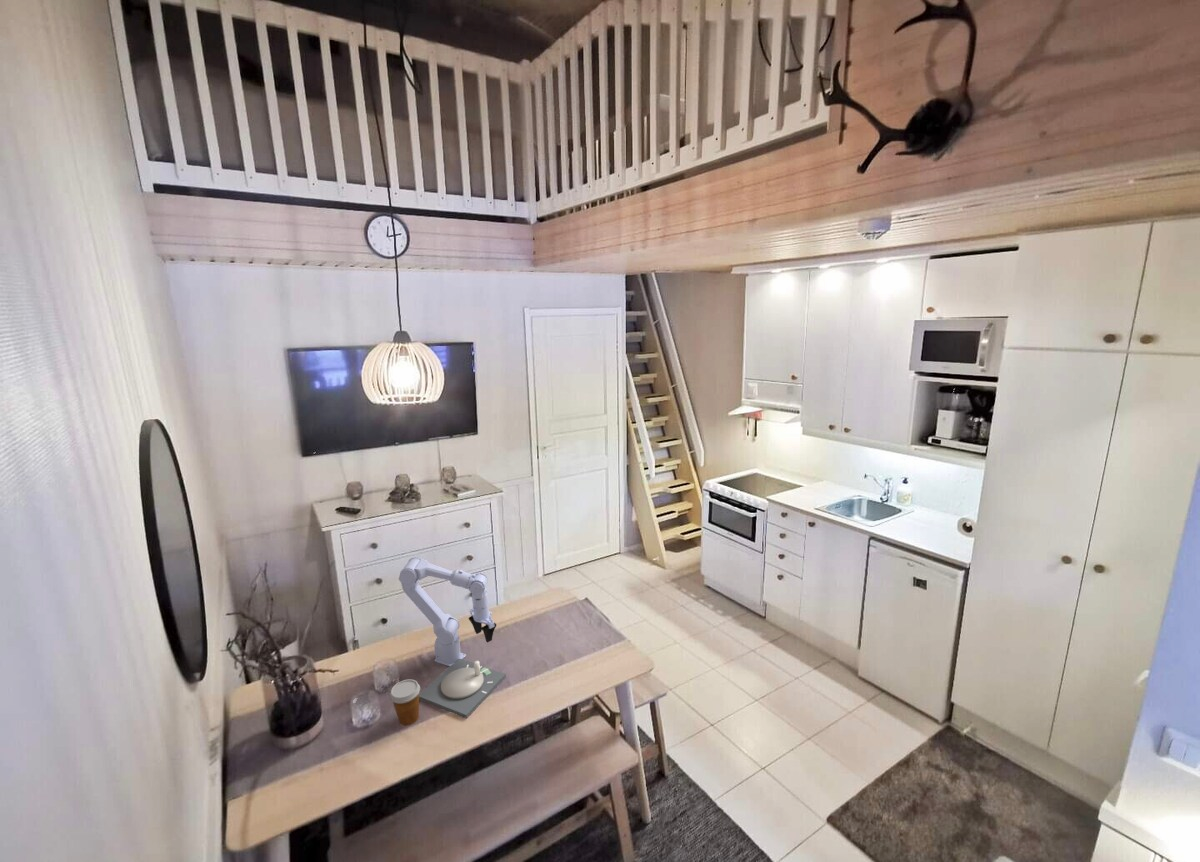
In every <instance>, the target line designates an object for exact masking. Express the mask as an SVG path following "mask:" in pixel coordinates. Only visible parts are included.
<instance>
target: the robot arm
mask: <svg viewBox="0 0 1200 862" xmlns="http://www.w3.org/2000/svg"><path fill="white" fill-rule="evenodd" d="M427 577H433V578H437V579H441V580H445V581H449V582H450V584H451V585H452V586H456V587H458V588H461V589H467V590H468V591H469V593H470V594H471V599H472V600H471V601H472V608H470V609H469V614H470V615H471V616H469V617H468V621H469V622H470V623H471V625H472V627H473V629H474V632H475V634H476V635H478V634H481V633H482V632H483V634H484V638H485V642H486V643H489V642H491V641H492V640H493V636H494V632H495V629H496V628H497V623H496V622H494V621H493V619H492V613H493V612H492V611H491V610H490V609H489V597H488V592H487V584H488V578H487V576H486V574H483V573H482V572H477V573H470V572H467V571H464V570H463V569H455V570H451V569H450V570H449V569H447V568H444V567H441V566H439V565H435V564H433V563H431V562H429V561H428V560H426V559H425V558H420V557H417V556H413V557H411V558H410V559H409V560H408V562H407V563H406V565H405V566H404V568H402V569H401V571H400V572H399V575H398V580H399V582H400V584H401V588H402V591H403V592H404V594H405V595H406V596H407V597H408V598H409V599H410V601H412V602H413V604H414V605H415V606H416V607H417V609H419V610H420V611H421V613H422V614H423V615H424V616H425V618H427V619H428V621H429V622H430V623H431V624H432V626H433V632H434V633H433V634H434V635H435V636H436V639H435V640H434V643H433V644H434V645H433V646H434V653H435V654H434V655H435V659H434V662H436V663H439V664H442V665H445V666H447V667H450V666H452V665H453V664H454V663H455V662H456V661H457V660H458V659H459V658H460V659H463V660H464V658H466V656H467V654H466V653H463V652H462V651H461V644H460V643H461V642H460V635H459V632H458V630H459V628H460V622H459V619H457V618H455V617H453V616H452V615H451V613H444V612H443V611H442V609H441V608H440V607H439V606H438V605H437V604H436V602H434V600H433V599H432V598H431V597H430V596H429V594H428V593H427V592H426V591H425V589H423V588H422V587H421V585H420V584H419V583H420V581H421V580H422V579H424V578H427ZM482 624H483V625H484V626H483V625H482Z"/></svg>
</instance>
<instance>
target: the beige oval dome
mask: <svg viewBox="0 0 1200 862" xmlns="http://www.w3.org/2000/svg"><path fill="white" fill-rule="evenodd" d="M473 663H474V668H461V669H457V670H455V671H453V672H451V673H449V674H448V675H447V676H446V677H445V678H444V679H443V680H442V682H441V691H442V693H443V695H445V696H446V697H448V698H451V699H461V698H466V697H468V696H471V695H473V694H474V693H476V692H477V691H478V690H479V689H480V688H481V687H482V685H483V682H484V678H483V674H482V673H483V672H485V671H487V670H489V669H486V670H484V671H482V672H481V671H480V660H475V661H474V662H473Z"/></svg>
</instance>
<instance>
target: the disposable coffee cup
mask: <svg viewBox="0 0 1200 862" xmlns="http://www.w3.org/2000/svg"><path fill="white" fill-rule="evenodd" d="M420 691H421V686H420V684H419V683H418V681H417V680H415V679H412V678H411V679H409V678H408V679H403V680H401V681H399V682H397V683H396V684H394V685H393V687H392V688H391V690H390V694H389V698H390V700H391V701H392V703H393V706H394V710H395V712H396V715H397V719H398V722H399V724H400V725H401V726H404V727H405V726H406V727H407V726H411V725H413V724H415V723H416V722H417V721H418V720H419V717H420V700H419V694H420Z"/></svg>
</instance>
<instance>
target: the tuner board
mask: <svg viewBox="0 0 1200 862" xmlns="http://www.w3.org/2000/svg"><path fill="white" fill-rule="evenodd" d="M461 668H474V662H471V661H468V660H465V659H464V658H463V659H460V658H459V659H458V660H457V661H456V662H455V663H454V664H453V665H452V666H448V668H446V670H445V671H443V673H441V674H440V675H439V676H437V678H436V679H434V680H433V682H431V683H430V684H428V686H427V687H426V688H424V689H423V690H422V691H421V692H419V701H422V702H424V703H427V704H429V705H431V706H434V707H436V708H439V709H440V710H444V711H446V712H449V713H451V714H453V715H456V714H457V715H456V716H458V717H461V716H462V717H461V718H464V719H467V720H468V718H469V717H470V716H471V715H472V713H474V712H475V711H476V710H477V708H478V707H480V705H481V704H482V703H484V701H485V700H486V699H487V698H488V697H489V696H490V695H491V694H492V693H493V692H494V691H495V689H497V688H498V687H499V685H500V684H501V683H503V681H505V679H506V678H507V674H506V673H504V672H501V671H498V670H495V669H493V668H489V667H486V666H483V665H480V671H481V672H482V671H484V670H486V669H489V670H487V671H485V672H483V673H482V674H483V678H484V682H483V685H482V687H481V688H480V689H479V690H478V691H477V692H476V693H474V694H473V695H471V696H468V697H466V698H461V699H451V698H448V697H446V696H445V695H443V693H442V691H441V682H442V680H443V679H444V678H445V677H446V676H447V675H448V674H449V673H451V672H453V671H455V670H457V669H461Z"/></svg>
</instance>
